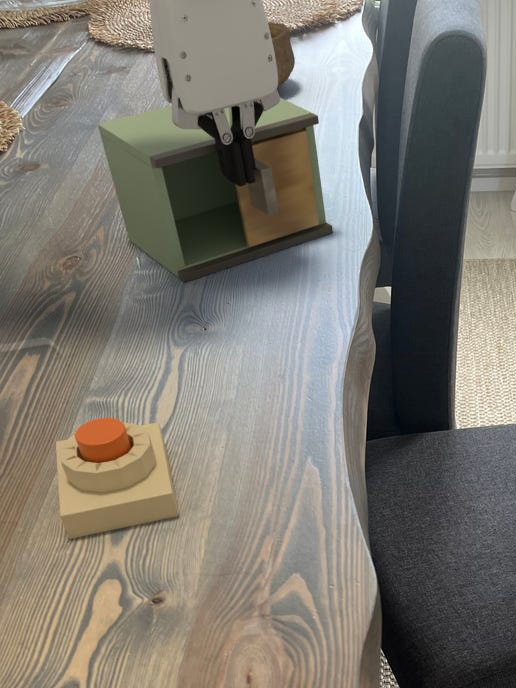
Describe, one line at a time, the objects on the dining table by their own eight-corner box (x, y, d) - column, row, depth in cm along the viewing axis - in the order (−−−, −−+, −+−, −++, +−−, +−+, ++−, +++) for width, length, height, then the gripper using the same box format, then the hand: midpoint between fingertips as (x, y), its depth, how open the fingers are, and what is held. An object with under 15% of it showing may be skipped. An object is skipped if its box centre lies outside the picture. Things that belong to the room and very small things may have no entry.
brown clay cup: (178, 109, 136) (157, 23, 131) (174, 109, 147) (155, 30, 142) (307, 91, 139) (292, 6, 134) (293, 92, 151) (279, 14, 146)
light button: (133, 459, 74) (126, 439, 73) (83, 469, 74) (75, 449, 72) (129, 433, 77) (122, 413, 76) (80, 442, 76) (73, 422, 75)
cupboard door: (266, 258, 103) (248, 161, 96) (246, 245, 106) (228, 149, 99) (336, 235, 107) (324, 139, 100) (316, 223, 109) (303, 129, 102)
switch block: (179, 516, 75) (166, 472, 72) (69, 539, 74) (51, 495, 71) (165, 444, 82) (152, 402, 79) (64, 464, 80) (47, 421, 78)
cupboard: (184, 282, 103) (154, 160, 94) (129, 240, 110) (97, 123, 101) (333, 232, 110) (318, 115, 102) (272, 196, 118) (253, 84, 109)
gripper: (254, -62, 91) (287, 151, 104) (98, -33, 85) (154, 189, 98) (297, -48, 87) (325, 172, 100) (136, -17, 80) (189, 213, 93)
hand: (240, 180), depth 99 cm, fingers closed
